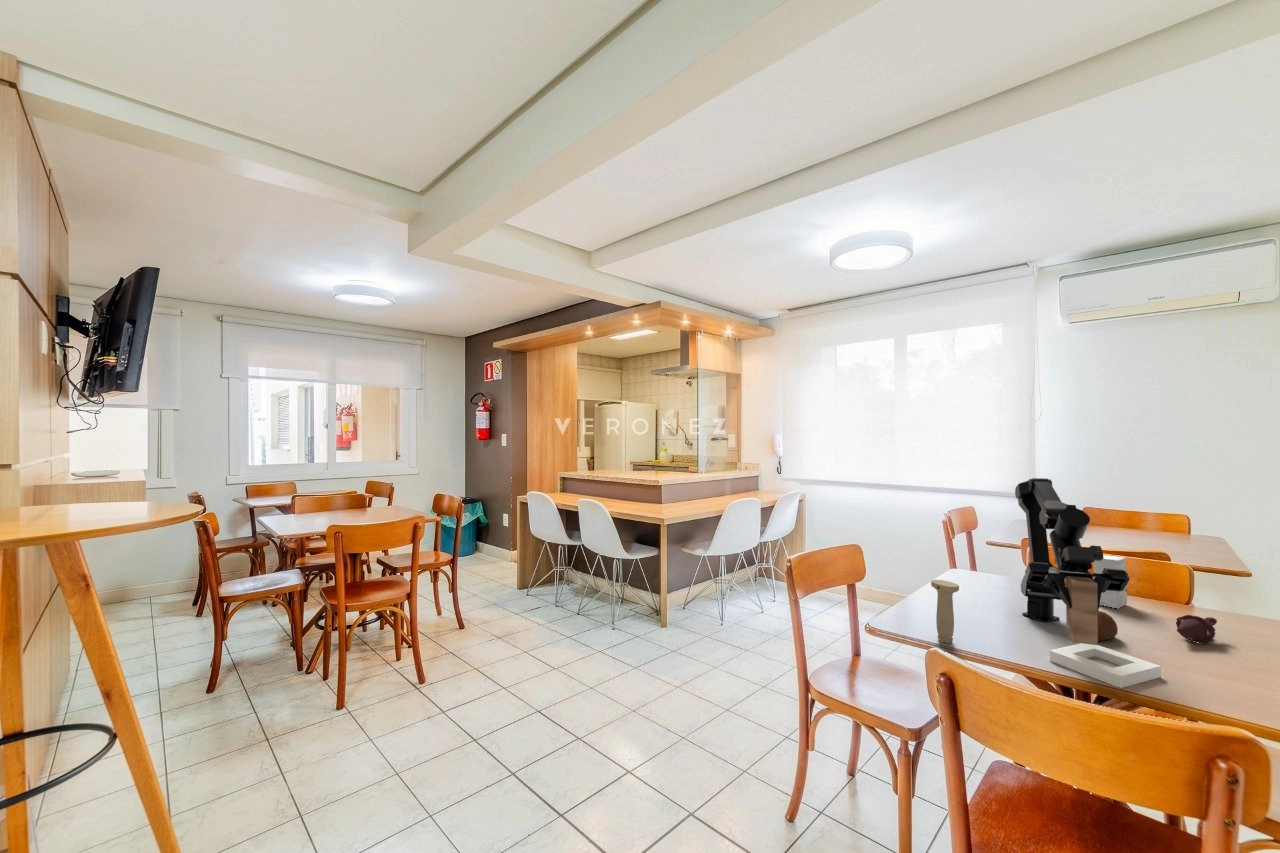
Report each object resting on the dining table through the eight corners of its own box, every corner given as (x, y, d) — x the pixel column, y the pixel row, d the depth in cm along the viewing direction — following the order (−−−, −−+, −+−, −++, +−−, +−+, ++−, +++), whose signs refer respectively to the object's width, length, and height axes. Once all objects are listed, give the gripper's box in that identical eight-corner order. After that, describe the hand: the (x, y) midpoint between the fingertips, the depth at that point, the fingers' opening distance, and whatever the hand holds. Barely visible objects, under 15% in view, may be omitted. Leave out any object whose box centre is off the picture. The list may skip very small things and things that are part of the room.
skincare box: (1118, 610, 159) (1117, 560, 159) (1092, 604, 164) (1092, 556, 164) (1127, 604, 163) (1127, 557, 163) (1102, 599, 168) (1102, 553, 168)
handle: (940, 635, 140) (940, 578, 140) (963, 644, 134) (963, 585, 134) (927, 638, 138) (927, 581, 138) (950, 647, 132) (949, 587, 132)
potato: (1074, 637, 138) (1074, 611, 138) (1088, 629, 144) (1088, 603, 144) (1108, 647, 132) (1108, 619, 132) (1122, 637, 138) (1122, 611, 138)
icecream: (1202, 626, 128) (1236, 624, 134) (1165, 609, 135) (1198, 608, 140) (1191, 651, 130) (1225, 648, 135) (1155, 633, 137) (1188, 631, 142)
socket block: (1088, 652, 129) (1088, 641, 129) (1160, 677, 116) (1160, 665, 116) (1049, 660, 124) (1049, 650, 124) (1120, 688, 111) (1120, 676, 111)
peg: (1066, 635, 125) (1066, 576, 125) (1090, 638, 123) (1090, 578, 123) (1072, 642, 121) (1072, 581, 121) (1097, 645, 119) (1097, 583, 119)
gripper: (1027, 528, 129) (1040, 586, 119) (1126, 535, 122) (1148, 596, 111) (1020, 553, 136) (1031, 609, 126) (1112, 561, 129) (1132, 621, 119)
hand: (1083, 609), depth 121 cm, fingers closed on peg, 4 cm apart
